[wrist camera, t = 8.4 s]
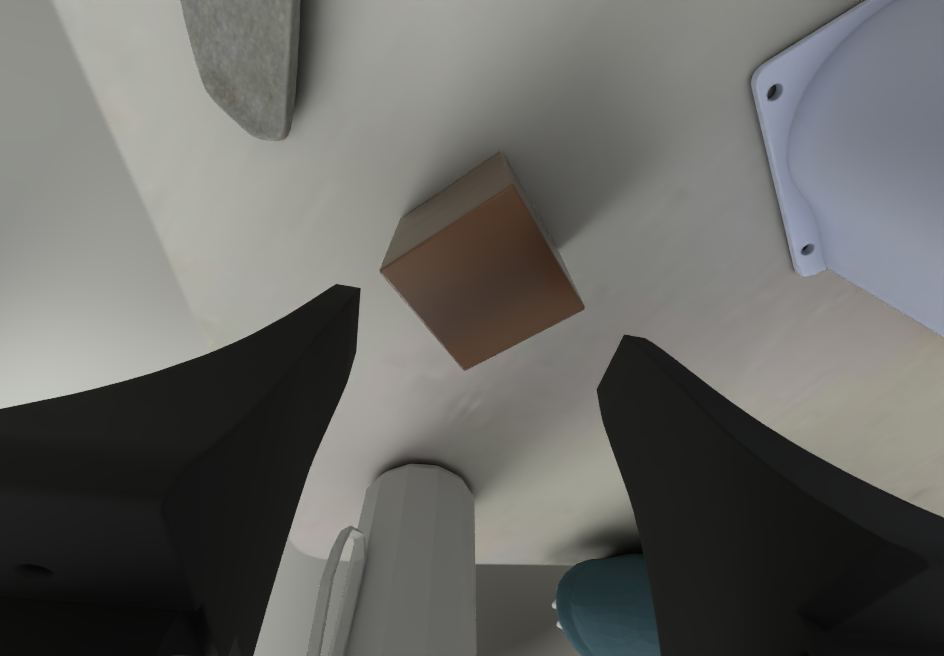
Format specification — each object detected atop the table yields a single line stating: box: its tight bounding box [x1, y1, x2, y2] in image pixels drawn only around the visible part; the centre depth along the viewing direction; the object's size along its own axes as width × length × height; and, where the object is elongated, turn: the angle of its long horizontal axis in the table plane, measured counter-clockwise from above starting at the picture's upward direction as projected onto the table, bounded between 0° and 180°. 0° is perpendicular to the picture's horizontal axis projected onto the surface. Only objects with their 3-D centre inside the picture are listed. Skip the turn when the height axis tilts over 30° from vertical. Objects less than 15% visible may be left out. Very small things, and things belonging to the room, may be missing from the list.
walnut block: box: [379, 152, 585, 370], centre depth 16 cm, size 5×5×5 cm
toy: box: [552, 554, 661, 656], centre depth 32 cm, size 11×26×15 cm
